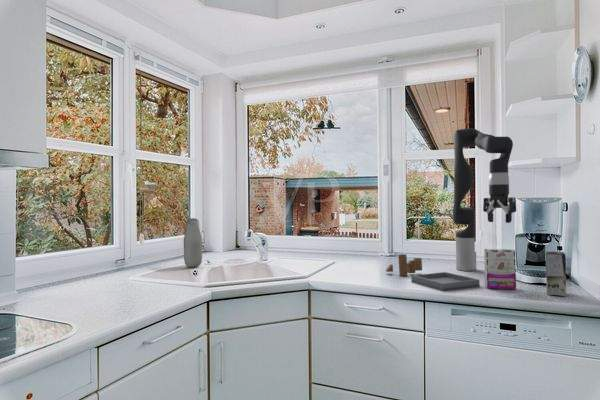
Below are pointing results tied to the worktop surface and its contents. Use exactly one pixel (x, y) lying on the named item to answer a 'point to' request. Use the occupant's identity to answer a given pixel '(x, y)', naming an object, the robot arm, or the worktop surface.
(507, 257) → the candy bar box
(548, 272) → the coffee box
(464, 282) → the tray
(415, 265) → the wooden block set
